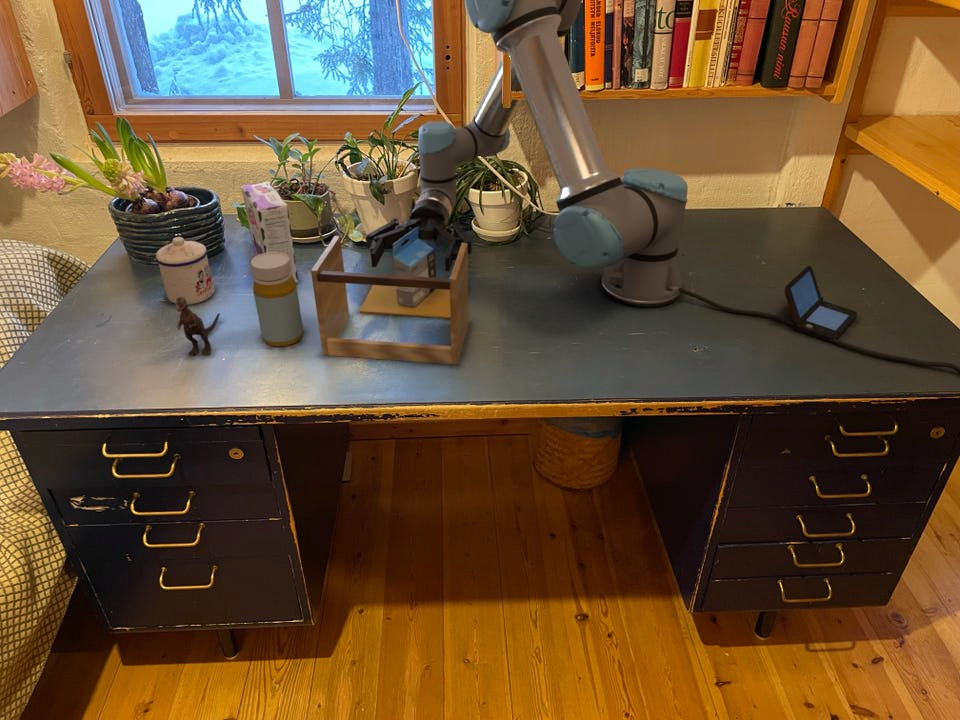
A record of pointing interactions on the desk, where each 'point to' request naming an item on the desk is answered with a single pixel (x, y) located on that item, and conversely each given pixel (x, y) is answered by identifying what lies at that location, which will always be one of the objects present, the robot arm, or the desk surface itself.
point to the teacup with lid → (185, 271)
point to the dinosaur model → (193, 327)
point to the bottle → (276, 299)
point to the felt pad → (386, 303)
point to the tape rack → (333, 285)
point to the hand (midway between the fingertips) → (410, 262)
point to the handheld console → (815, 308)
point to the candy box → (269, 222)
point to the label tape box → (413, 267)
